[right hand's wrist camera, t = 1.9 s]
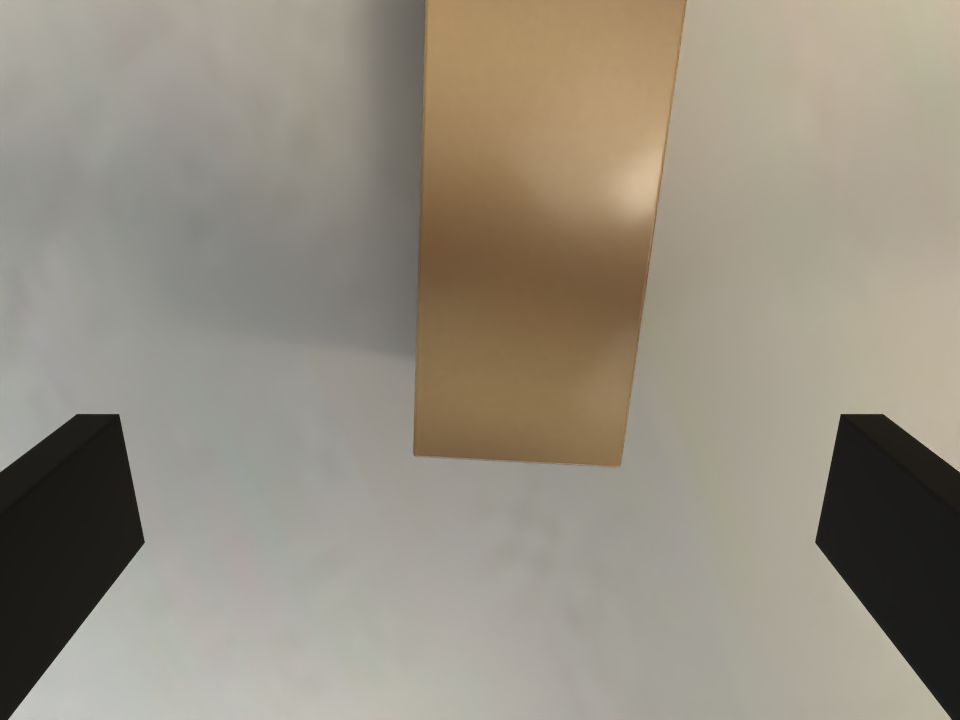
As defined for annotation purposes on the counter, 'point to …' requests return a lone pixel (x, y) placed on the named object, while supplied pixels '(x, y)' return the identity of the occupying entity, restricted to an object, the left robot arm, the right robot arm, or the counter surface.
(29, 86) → the counter surface
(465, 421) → the post
